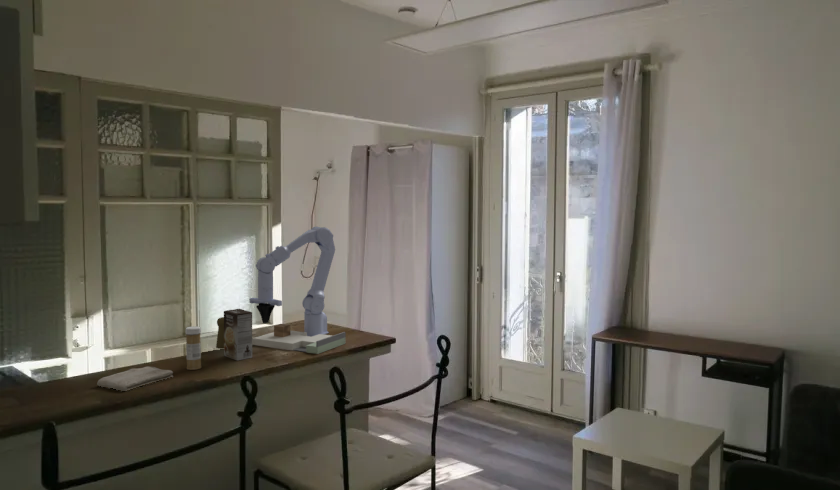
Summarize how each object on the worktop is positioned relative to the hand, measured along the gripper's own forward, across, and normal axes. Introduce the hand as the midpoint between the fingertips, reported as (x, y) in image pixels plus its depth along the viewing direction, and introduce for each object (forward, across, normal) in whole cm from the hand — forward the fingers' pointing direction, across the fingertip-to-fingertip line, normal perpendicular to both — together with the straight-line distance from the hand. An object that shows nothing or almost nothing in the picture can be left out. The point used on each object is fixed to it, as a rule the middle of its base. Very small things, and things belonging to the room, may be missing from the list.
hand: (265, 322), depth 234 cm
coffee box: (+7, +9, -25) cm, 27 cm away
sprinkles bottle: (+7, +7, -43) cm, 44 cm away
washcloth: (+8, +3, -61) cm, 61 cm away
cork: (+7, -6, -16) cm, 18 cm away
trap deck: (+7, +16, 0) cm, 17 cm away
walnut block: (+4, +8, 0) cm, 9 cm away
